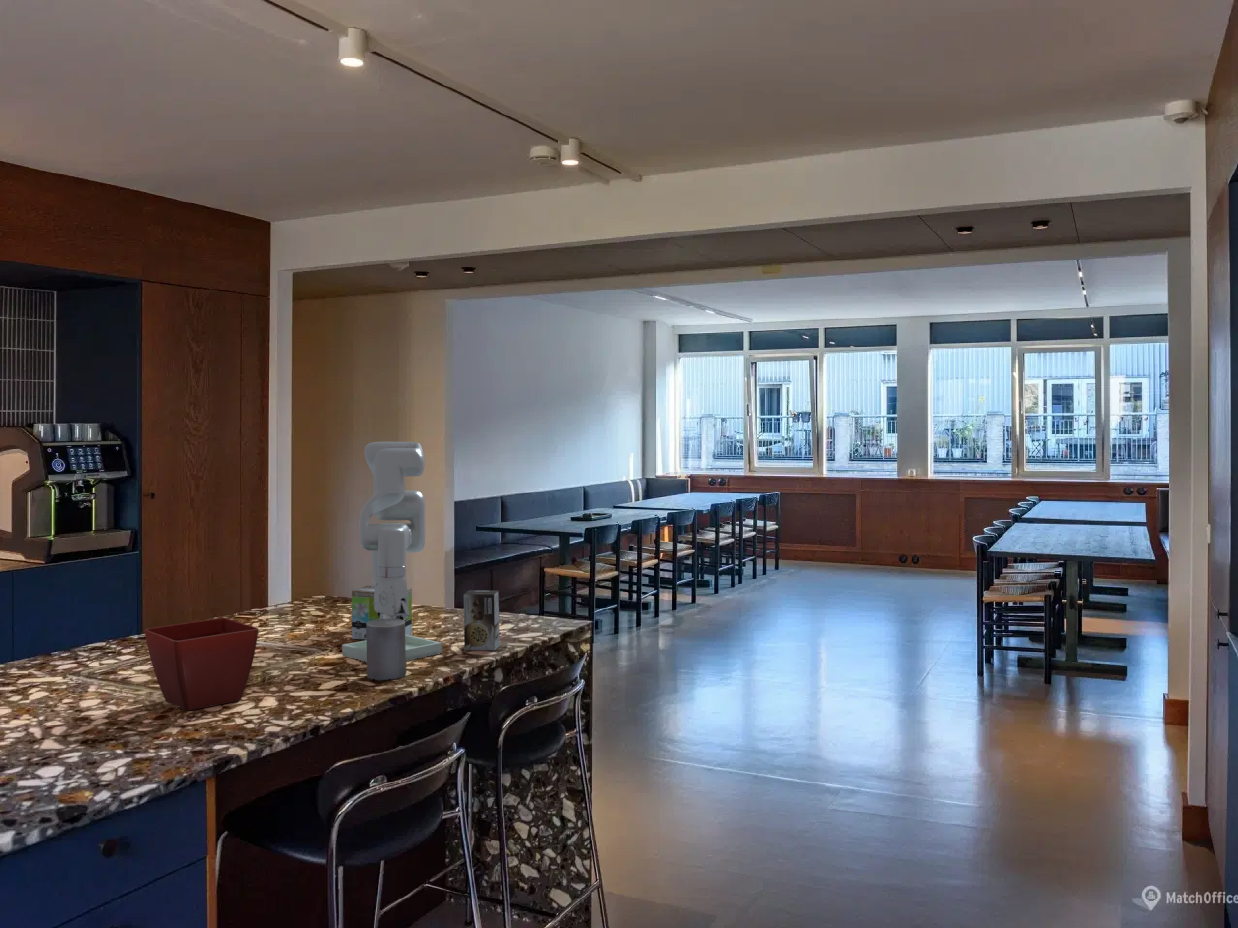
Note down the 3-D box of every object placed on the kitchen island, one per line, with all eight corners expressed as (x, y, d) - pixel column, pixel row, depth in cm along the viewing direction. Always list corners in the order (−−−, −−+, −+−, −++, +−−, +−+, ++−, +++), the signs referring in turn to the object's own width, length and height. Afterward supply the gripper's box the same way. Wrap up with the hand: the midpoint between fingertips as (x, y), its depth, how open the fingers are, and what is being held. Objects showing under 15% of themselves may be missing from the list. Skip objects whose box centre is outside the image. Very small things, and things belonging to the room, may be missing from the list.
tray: (342, 655, 278) (342, 644, 277) (402, 643, 293) (402, 633, 293) (381, 666, 266) (381, 654, 266) (441, 653, 281) (441, 642, 281)
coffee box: (500, 645, 291) (500, 590, 290) (495, 650, 284) (495, 593, 284) (468, 645, 292) (468, 589, 291) (463, 650, 285) (463, 593, 284)
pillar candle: (384, 669, 263) (383, 611, 262) (414, 673, 258) (413, 615, 257) (358, 678, 254) (357, 618, 253) (388, 682, 250) (387, 622, 249)
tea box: (350, 640, 298) (350, 590, 297) (367, 633, 307) (366, 584, 307) (397, 643, 294) (397, 592, 293) (412, 635, 304) (412, 586, 303)
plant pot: (143, 700, 233) (142, 627, 232) (225, 685, 246) (225, 616, 245) (176, 718, 219) (175, 641, 218) (261, 701, 232) (260, 628, 232)
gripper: (362, 570, 281) (362, 635, 282) (399, 577, 270) (399, 644, 271) (384, 567, 287) (384, 631, 288) (422, 573, 276) (422, 640, 276)
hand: (392, 637), depth 279 cm, fingers closed on shaker, 4 cm apart
